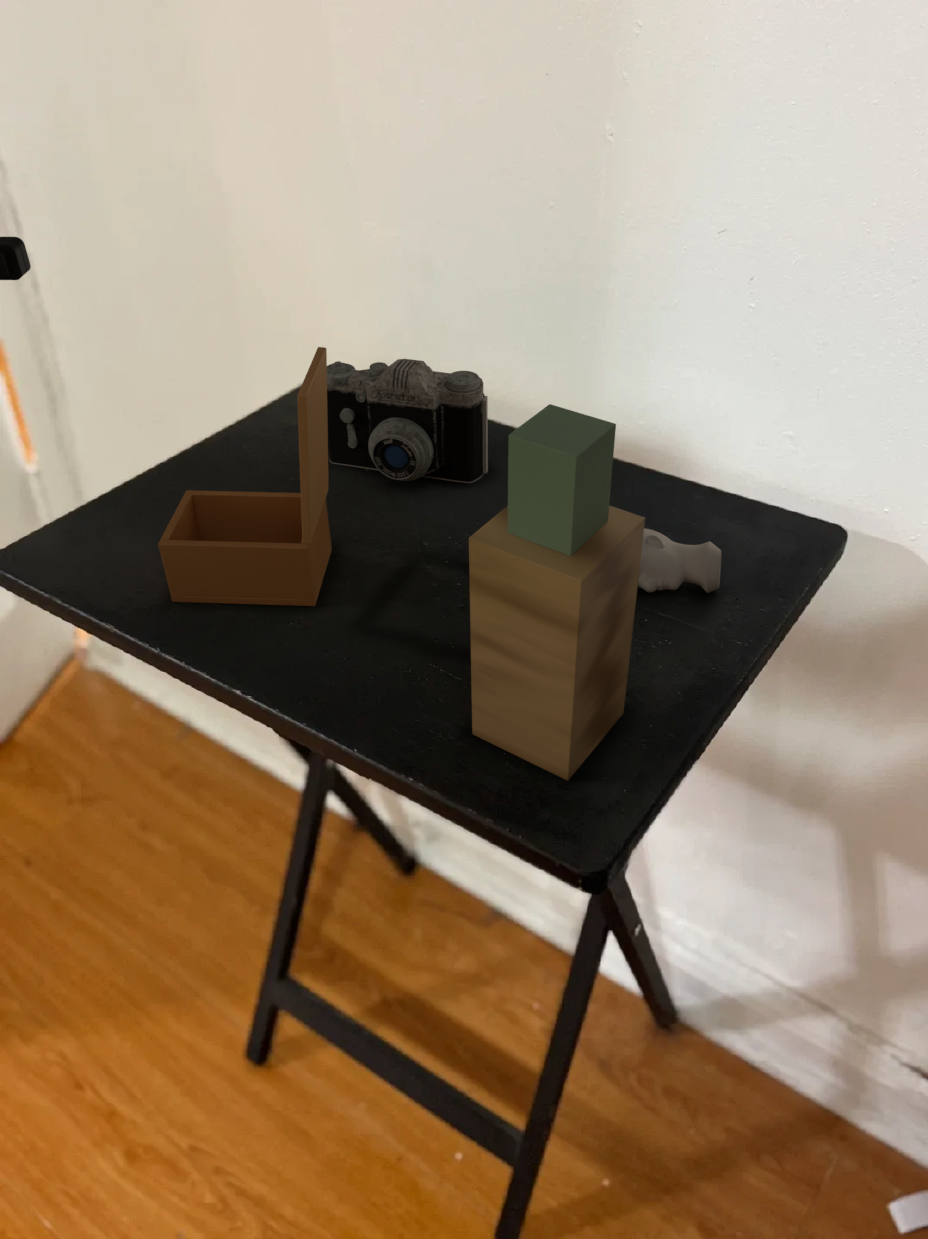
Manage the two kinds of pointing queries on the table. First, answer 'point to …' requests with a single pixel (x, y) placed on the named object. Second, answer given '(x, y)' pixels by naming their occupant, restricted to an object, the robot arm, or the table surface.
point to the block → (559, 478)
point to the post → (551, 639)
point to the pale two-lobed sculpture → (677, 564)
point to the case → (244, 549)
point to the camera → (408, 421)
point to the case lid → (313, 443)
